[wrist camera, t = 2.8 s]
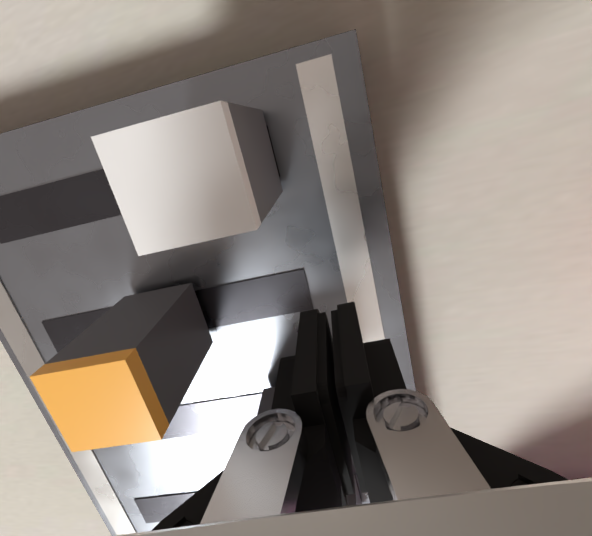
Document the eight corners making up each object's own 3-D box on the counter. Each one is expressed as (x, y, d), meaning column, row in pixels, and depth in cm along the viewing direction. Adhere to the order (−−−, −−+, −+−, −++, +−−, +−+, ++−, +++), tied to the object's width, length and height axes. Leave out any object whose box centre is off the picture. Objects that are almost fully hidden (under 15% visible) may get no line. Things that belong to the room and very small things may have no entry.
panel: (351, 41, 14) (355, 28, 12) (429, 494, 22) (439, 530, 20) (-53, 159, 17) (-103, 163, 15) (139, 523, 24) (123, 558, 22)
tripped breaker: (191, 282, 15) (125, 360, 10) (213, 342, 16) (161, 440, 11) (124, 296, 16) (29, 376, 11) (148, 353, 17) (71, 452, 12)
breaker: (262, 110, 13) (220, 100, 8) (282, 191, 14) (257, 230, 9) (180, 131, 13) (90, 136, 8) (205, 209, 14) (138, 256, 9)
